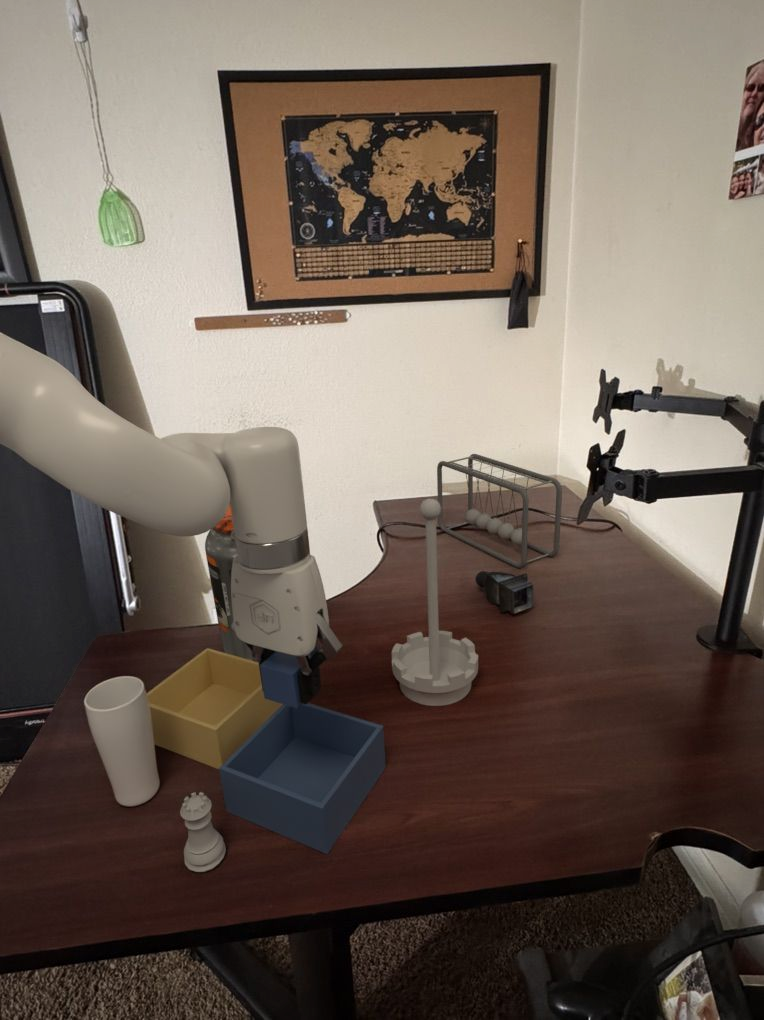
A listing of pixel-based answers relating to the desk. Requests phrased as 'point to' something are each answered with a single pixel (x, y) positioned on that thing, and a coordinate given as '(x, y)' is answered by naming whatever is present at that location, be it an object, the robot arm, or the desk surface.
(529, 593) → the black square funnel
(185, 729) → the yellow bin
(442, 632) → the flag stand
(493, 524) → the newton's cradle
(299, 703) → the blue block
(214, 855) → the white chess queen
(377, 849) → the desk surface
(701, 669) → the desk surface
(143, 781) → the drinking glass
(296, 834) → the slate bin
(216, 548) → the supplement tub
